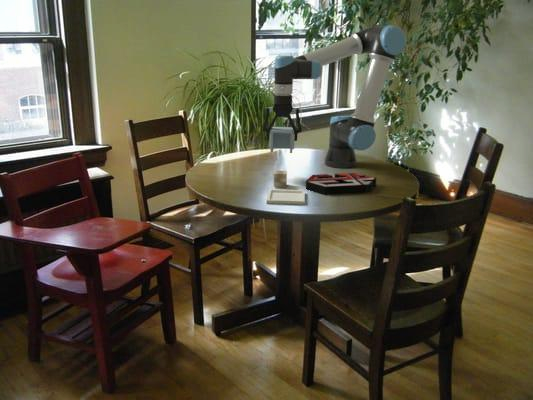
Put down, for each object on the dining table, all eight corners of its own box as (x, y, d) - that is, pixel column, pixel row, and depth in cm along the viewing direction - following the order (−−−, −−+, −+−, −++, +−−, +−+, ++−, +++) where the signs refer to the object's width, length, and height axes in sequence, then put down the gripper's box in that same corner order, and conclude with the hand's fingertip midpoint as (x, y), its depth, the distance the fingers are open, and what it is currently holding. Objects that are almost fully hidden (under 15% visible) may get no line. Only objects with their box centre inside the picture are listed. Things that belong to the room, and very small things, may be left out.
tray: (304, 193, 210) (304, 190, 209) (304, 205, 196) (304, 201, 196) (269, 192, 210) (269, 189, 210) (266, 203, 197) (266, 200, 197)
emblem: (312, 196, 207) (384, 192, 213) (312, 187, 206) (385, 183, 212) (300, 183, 223) (367, 180, 229) (300, 175, 222) (367, 172, 228)
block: (286, 184, 221) (286, 170, 219) (286, 188, 216) (286, 174, 214) (274, 184, 221) (274, 170, 219) (273, 187, 216) (273, 173, 215)
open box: (292, 148, 230) (293, 127, 227) (292, 153, 222) (292, 131, 219) (271, 147, 231) (272, 126, 228) (270, 152, 222) (270, 130, 219)
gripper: (256, 94, 216) (255, 149, 223) (309, 96, 215) (307, 150, 222) (257, 92, 223) (257, 145, 230) (309, 93, 222) (307, 146, 229)
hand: (281, 148), depth 226 cm, fingers closed on open box, 9 cm apart
